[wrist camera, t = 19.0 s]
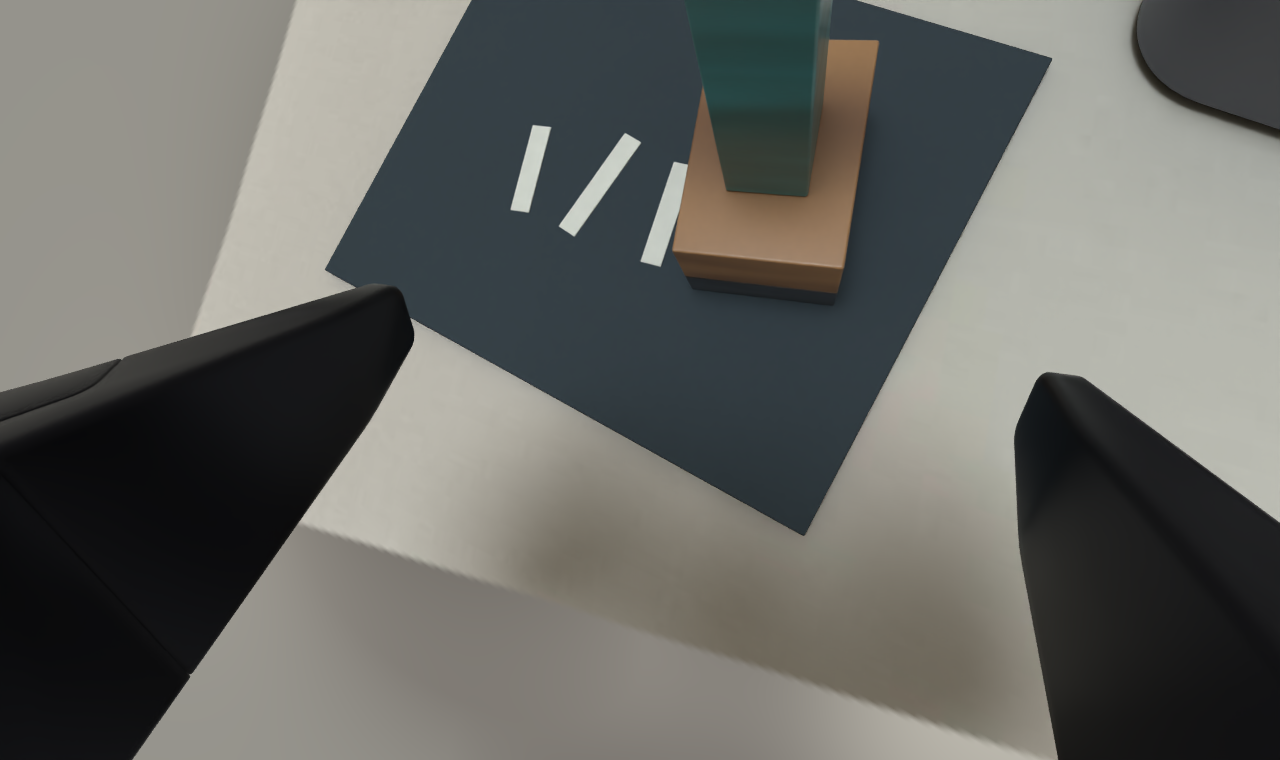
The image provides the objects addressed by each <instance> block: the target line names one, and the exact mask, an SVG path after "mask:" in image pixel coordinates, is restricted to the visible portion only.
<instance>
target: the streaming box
mask: <svg viewBox="0 0 1280 760" xmlns="http://www.w3.org/2000/svg"><path fill="white" fill-rule="evenodd" d="M1137 37H1138V43H1139V47H1140V50H1141V52H1142V55H1143V58H1144V59H1145V61H1146V63H1147V64H1148V66H1149V68H1150V69H1151V70H1152V72H1153V73H1154V74H1155V75H1156V76H1157V77H1158V78H1159V80H1161V81H1162V82H1163V83H1164V84H1165V85H1167V86H1168V87H1169V88H1170V89H1172V90H1174V91H1175V92H1177V93H1179V94H1180V95H1182V96H1184V97H1186V98H1188V99H1191V100H1193V101H1196V102H1198V103H1201V104H1204V105H1207V106H1210V107H1213V108H1216V109H1219V110H1222V111H1225V112H1228V113H1231V114H1234V115H1237V116H1240V117H1243V118H1246V119H1249V120H1252V121H1255V122H1259V123H1262V124H1265V125H1268V126H1271V127H1274V128H1277V129H1280V0H1143V2H1142V4H1141V7H1140V11H1139V15H1138V19H1137Z"/></svg>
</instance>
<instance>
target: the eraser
mask: <svg viewBox="0 0 1280 760" xmlns="http://www.w3.org/2000/svg"><path fill="white" fill-rule="evenodd" d="M832 1H833V0H684V3H685V8H686V12H687V17H688V21H689V26H690V30H691V35H692V39H693V44H694V48H695V53H696V57H697V62H698V66H699V71H700V75H701V80H702V84H703V87H702V92H701V97H700V103H699V108H698V113H697V119H696V124H695V129H694V135H693V140H692V146H691V151H690V156H689V162H688V167H687V172H686V178H685V183H684V188H683V194H682V199H681V204H680V210H679V215H678V220H677V226H676V231H675V237H674V242H673V247H672V252H673V254H674V255H675V257H676V259H677V261H678V263H679V265H680V267H681V269H682V271H683V273H684V275H685V276H686V279H687V280H688V282H689V284H690V286H691V288H692V289H697V290H705V291H714V292H722V293H731V294H739V295H747V296H756V297H764V298H773V299H781V300H789V301H798V302H806V303H815V304H823V305H831V306H832V305H834V304H835V300H836V297H837V293H838V289H839V285H840V281H841V278H842V274H843V270H844V265H845V259H846V253H847V246H848V240H849V233H850V227H851V221H852V214H853V208H854V201H855V195H856V189H857V182H858V176H859V169H860V163H861V157H862V150H863V144H864V137H865V131H866V125H867V118H868V112H869V105H870V99H871V93H872V86H873V80H874V73H875V67H876V61H877V54H878V48H879V41H877V40H829V34H830V23H831V12H832Z"/></svg>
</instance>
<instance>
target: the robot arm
mask: <svg viewBox="0 0 1280 760" xmlns="http://www.w3.org/2000/svg"><path fill="white" fill-rule="evenodd" d="M413 342H414V329H413V326H412V322H411V319H410V316H409V312H408V309H407V306H406V303H405V299H404V296H403V294H402V292H401V291H400V290H399V289H398V288H397V287H395V286H391V285H383V284H376V283H375V284H368V285H365V286H362V287H358V288H355V289H351V290H348V291H345V292H341V293H338V294H335V295H331V296H328V297H325V298H321V299H318V300H315V301H311V302H308V303H304V304H301V305H298V306H294V307H291V308H288V309H284V310H281V311H278V312H274V313H271V314H268V315H264V316H261V317H257V318H254V319H251V320H247V321H244V322H241V323H237V324H234V325H231V326H227V327H224V328H221V329H217V330H214V331H210V332H207V333H204V334H200V335H197V336H194V337H190V338H187V339H184V340H181V341H177V342H174V343H170V344H167V345H164V346H160V347H157V348H153V349H150V350H147V351H143V352H140V353H137V354H133V355H130V356H127V357H125V358H123V360H121V359H116V360H113V361H110V362H106V363H103V364H99V365H96V366H93V367H90V368H86V369H82V370H79V371H76V372H72V373H68V374H65V375H62V376H58V377H55V378H51V379H48V380H44V381H41V382H37V383H33V384H29V385H26V386H22V387H19V388H15V389H11V390H7V391H4V392H0V760H132V759H133V758H134V756H135V755H136V753H137V752H138V751H139V749H140V748H141V746H142V745H143V744H144V742H145V741H146V739H147V738H148V737H149V735H150V734H151V732H152V731H153V729H154V728H155V727H156V725H157V724H158V722H159V721H160V720H161V718H162V717H163V715H164V714H165V712H166V711H167V710H168V708H169V707H170V705H171V704H172V702H173V701H174V699H175V698H176V697H177V695H178V694H179V693H180V691H181V690H182V688H183V687H184V685H185V684H186V682H187V681H188V680H189V678H190V675H189V674H192V673H193V672H194V670H195V669H196V667H197V666H198V664H199V663H200V662H201V660H202V659H203V658H204V656H205V655H206V653H207V652H208V650H209V649H210V647H211V646H212V645H213V643H214V642H215V641H216V639H217V638H218V636H219V635H220V633H221V632H222V631H223V629H224V628H225V626H226V625H227V623H228V622H229V621H230V619H231V618H232V616H233V615H234V613H235V612H236V611H237V609H238V608H239V606H240V605H241V604H242V602H243V601H244V599H245V598H246V596H247V595H248V593H249V592H250V591H251V589H252V588H253V587H254V585H255V584H256V582H257V581H258V579H259V578H260V577H261V575H262V574H263V572H264V571H265V570H266V568H267V567H268V565H269V564H270V562H271V561H272V560H273V558H274V557H275V555H276V554H277V552H278V551H279V549H280V548H281V547H282V545H283V544H284V543H285V541H286V540H287V538H288V537H289V535H290V534H291V533H292V531H293V530H294V528H295V527H296V526H297V524H298V523H299V521H300V520H301V518H302V517H303V516H304V514H305V513H306V511H307V510H308V509H309V507H310V506H311V504H312V503H313V501H314V500H315V499H316V497H317V496H318V494H319V493H320V491H321V490H322V489H323V487H324V486H325V484H326V483H327V482H328V480H329V479H330V477H331V476H332V474H333V473H334V472H335V470H336V469H337V467H338V466H339V465H340V463H341V462H342V460H343V459H344V457H345V456H346V455H347V453H348V452H349V450H350V449H351V448H352V446H353V445H354V443H355V442H356V440H357V439H358V438H359V436H360V435H361V433H362V432H363V430H364V429H365V427H366V426H367V424H368V423H369V421H370V420H371V418H372V417H373V415H374V413H375V412H376V410H377V408H378V406H379V405H380V403H381V401H382V399H383V398H384V396H385V394H386V392H387V390H388V389H389V387H390V385H391V383H392V381H393V380H394V378H395V376H396V374H397V373H398V371H399V369H400V367H401V365H402V364H403V362H404V360H405V358H406V356H407V355H408V353H409V351H410V349H411V347H412V345H413ZM1014 450H1015V473H1016V495H1017V518H1018V536H1019V548H1020V555H1021V561H1022V567H1023V573H1024V578H1025V583H1026V589H1027V594H1028V599H1029V605H1030V610H1031V616H1032V621H1033V626H1034V632H1035V637H1036V642H1037V648H1038V653H1039V658H1040V664H1041V669H1042V675H1043V680H1044V685H1045V691H1046V696H1047V701H1048V707H1049V712H1050V717H1051V723H1052V728H1053V734H1054V739H1055V744H1056V750H1057V755H1058V760H1280V523H1279V522H1278V521H1277V520H1275V519H1274V518H1273V517H1271V516H1270V515H1269V514H1267V513H1266V512H1265V511H1263V510H1262V509H1260V508H1259V507H1258V506H1256V505H1255V504H1254V503H1252V502H1251V501H1250V500H1248V499H1247V498H1246V497H1244V496H1243V495H1242V494H1240V493H1239V492H1237V491H1236V490H1235V489H1233V488H1232V487H1231V486H1229V485H1228V484H1227V483H1225V482H1224V481H1223V480H1221V479H1220V478H1219V477H1217V476H1216V475H1214V474H1213V473H1212V472H1210V471H1209V470H1208V469H1206V468H1205V467H1204V466H1202V465H1201V464H1200V463H1198V462H1197V461H1196V460H1194V459H1193V458H1191V457H1190V456H1189V455H1187V454H1186V453H1185V452H1183V451H1182V450H1181V449H1179V448H1178V447H1177V446H1175V445H1174V444H1173V443H1171V442H1170V441H1168V440H1167V439H1166V438H1164V437H1163V436H1162V435H1160V434H1159V433H1158V432H1156V431H1155V430H1154V429H1152V428H1151V427H1150V426H1148V425H1147V424H1145V423H1144V422H1143V421H1141V420H1140V419H1139V418H1137V417H1136V416H1135V415H1133V414H1132V413H1131V412H1129V411H1128V410H1127V409H1125V408H1124V407H1122V406H1121V405H1120V404H1118V403H1117V402H1116V401H1114V400H1113V399H1112V398H1110V397H1109V396H1108V395H1106V394H1105V393H1104V392H1102V391H1101V390H1100V389H1098V388H1097V387H1095V386H1094V385H1093V384H1091V383H1090V382H1089V381H1087V380H1086V379H1084V378H1083V377H1080V376H1075V375H1067V374H1059V373H1051V372H1046V373H1044V374H1042V375H1040V377H1039V378H1038V379H1037V380H1036V382H1035V384H1034V387H1033V389H1032V391H1031V393H1030V396H1029V398H1028V400H1027V402H1026V405H1025V407H1024V409H1023V411H1022V414H1021V416H1020V418H1019V421H1018V423H1017V426H1016V430H1015V436H1014Z"/></svg>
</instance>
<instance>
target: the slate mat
mask: <svg viewBox="0 0 1280 760" xmlns="http://www.w3.org/2000/svg"><path fill="white" fill-rule="evenodd" d="M829 40H877V41H879V48H878V54H877V61H876V67H875V73H874V80H873V86H872V93H871V99H870V105H869V112H868V118H867V125H866V131H865V137H864V144H863V150H862V157H861V163H860V169H859V176H858V182H857V189H856V195H855V201H854V208H853V214H852V221H851V227H850V233H849V240H848V246H847V253H846V259H845V265H844V270H843V274H842V278H841V281H840V285H839V289H838V293H837V297H836V300H835V304H834V305H832V306H831V305H823V304H815V303H806V302H798V301H789V300H781V299H773V298H764V297H756V296H747V295H739V294H731V293H722V292H714V291H705V290H697V289H692V288H691V286H690V284H689V282H688V280H687V279H686V276H685V275H684V273H683V271H682V269H681V267H680V265H679V263H678V261H677V259H676V257H675V255H674V254H673V252H672V247H673V242H674V237H675V231H676V226H677V220H678V215H679V210H680V204H681V199H682V194H683V188H684V183H685V178H686V172H687V167H688V162H689V156H690V151H691V146H692V140H693V135H694V129H695V124H696V119H697V113H698V108H699V103H700V97H701V92H702V87H703V84H702V80H701V75H700V71H699V66H698V62H697V57H696V53H695V48H694V44H693V39H692V35H691V30H690V26H689V21H688V17H687V12H686V8H685V3H684V0H472V1H471V2H470V4H469V6H468V8H467V10H466V12H465V13H464V15H463V17H462V19H461V21H460V23H459V24H458V26H457V28H456V30H455V32H454V34H453V35H452V37H451V39H450V41H449V43H448V45H447V46H446V48H445V50H444V52H443V54H442V56H441V58H440V59H439V61H438V63H437V65H436V67H435V69H434V70H433V72H432V74H431V76H430V78H429V80H428V81H427V83H426V85H425V87H424V89H423V91H422V92H421V94H420V96H419V98H418V100H417V102H416V103H415V105H414V107H413V109H412V111H411V113H410V114H409V116H408V118H407V120H406V122H405V124H404V125H403V127H402V129H401V131H400V133H399V135H398V136H397V138H396V140H395V142H394V144H393V146H392V147H391V149H390V151H389V153H388V155H387V157H386V158H385V160H384V162H383V164H382V166H381V168H380V169H379V171H378V173H377V175H376V177H375V179H374V180H373V182H372V184H371V186H370V188H369V190H368V191H367V193H366V195H365V197H364V199H363V201H362V202H361V204H360V206H359V208H358V210H357V212H356V213H355V215H354V217H353V219H352V221H351V223H350V224H349V226H348V228H347V230H346V232H345V234H344V235H343V237H342V239H341V241H340V243H339V245H338V246H337V248H336V250H335V252H334V254H333V256H332V257H331V259H330V261H329V263H328V265H327V267H326V268H325V270H326V271H328V272H329V273H331V274H333V275H335V276H337V277H338V278H340V279H342V280H344V281H346V282H347V283H349V284H351V285H353V286H355V287H356V288H358V287H362V286H365V285H368V284H375V283H376V284H383V285H391V286H395V287H397V288H398V289H399V290H400V291H401V292H402V294H403V296H404V299H405V303H406V306H407V309H408V312H409V316H410V318H412V319H414V320H416V321H418V322H419V323H421V324H423V325H425V326H427V327H428V328H430V329H432V330H434V331H436V332H437V333H439V334H441V335H443V336H445V337H446V338H448V339H450V340H452V341H454V342H455V343H457V344H459V345H461V346H463V347H464V348H466V349H468V350H470V351H472V352H473V353H475V354H477V355H479V356H480V357H482V358H484V359H486V360H488V361H489V362H491V363H493V364H495V365H497V366H498V367H500V368H502V369H504V370H506V371H507V372H509V373H511V374H513V375H515V376H516V377H518V378H520V379H522V380H524V381H525V382H527V383H529V384H531V385H533V386H534V387H536V388H538V389H540V390H542V391H543V392H545V393H547V394H549V395H551V396H552V397H554V398H556V399H558V400H560V401H561V402H563V403H565V404H567V405H569V406H570V407H572V408H574V409H576V410H578V411H579V412H581V413H583V414H585V415H587V416H588V417H590V418H592V419H594V420H596V421H597V422H599V423H601V424H603V425H605V426H606V427H608V428H610V429H612V430H614V431H615V432H617V433H619V434H621V435H623V436H624V437H626V438H628V439H630V440H632V441H633V442H635V443H637V444H639V445H641V446H642V447H644V448H646V449H648V450H650V451H651V452H653V453H655V454H657V455H659V456H660V457H662V458H664V459H666V460H668V461H669V462H671V463H673V464H675V465H677V466H678V467H680V468H682V469H684V470H686V471H687V472H689V473H691V474H693V475H695V476H696V477H698V478H700V479H702V480H704V481H705V482H707V483H709V484H711V485H713V486H714V487H716V488H718V489H720V490H722V491H723V492H725V493H727V494H729V495H731V496H732V497H734V498H736V499H738V500H740V501H741V502H743V503H745V504H747V505H749V506H750V507H752V508H754V509H756V510H758V511H759V512H761V513H763V514H765V515H767V516H768V517H770V518H772V519H774V520H776V521H777V522H779V523H781V524H783V525H785V526H786V527H788V528H790V529H792V530H794V531H795V532H797V533H799V534H801V535H803V536H804V535H805V533H806V532H807V530H808V528H809V526H810V524H811V522H812V520H813V518H814V516H815V514H816V512H817V510H818V508H819V507H820V505H821V503H822V501H823V499H824V497H825V495H826V493H827V491H828V489H829V487H830V485H831V483H832V482H833V480H834V478H835V476H836V474H837V472H838V470H839V468H840V466H841V464H842V462H843V460H844V459H845V457H846V455H847V453H848V451H849V449H850V447H851V445H852V443H853V441H854V439H855V437H856V435H857V434H858V432H859V430H860V428H861V426H862V424H863V422H864V420H865V418H866V416H867V414H868V412H869V410H870V409H871V407H872V405H873V403H874V401H875V399H876V397H877V395H878V393H879V391H880V389H881V387H882V386H883V384H884V382H885V380H886V378H887V376H888V374H889V372H890V370H891V368H892V366H893V364H894V362H895V361H896V359H897V357H898V355H899V353H900V351H901V349H902V347H903V345H904V343H905V341H906V339H907V337H908V336H909V334H910V332H911V330H912V328H913V326H914V324H915V322H916V320H917V318H918V316H919V314H920V313H921V311H922V309H923V307H924V305H925V303H926V301H927V299H928V297H929V295H930V293H931V291H932V289H933V288H934V286H935V284H936V282H937V280H938V278H939V276H940V274H941V272H942V270H943V268H944V266H945V265H946V263H947V261H948V259H949V257H950V255H951V253H952V251H953V249H954V247H955V245H956V243H957V241H958V240H959V238H960V236H961V234H962V232H963V230H964V228H965V226H966V224H967V222H968V220H969V218H970V216H971V215H972V213H973V211H974V209H975V207H976V205H977V203H978V201H979V199H980V197H981V195H982V193H983V192H984V190H985V188H986V186H987V184H988V182H989V180H990V178H991V176H992V174H993V172H994V170H995V168H996V167H997V165H998V163H999V161H1000V159H1001V157H1002V155H1003V153H1004V151H1005V149H1006V147H1007V145H1008V143H1009V142H1010V140H1011V138H1012V136H1013V134H1014V132H1015V130H1016V128H1017V126H1018V124H1019V122H1020V120H1021V119H1022V117H1023V115H1024V113H1025V111H1026V109H1027V107H1028V105H1029V103H1030V101H1031V99H1032V97H1033V95H1034V94H1035V92H1036V90H1037V88H1038V86H1039V84H1040V82H1041V80H1042V78H1043V76H1044V74H1045V72H1046V70H1047V69H1048V67H1049V65H1050V63H1051V61H1052V58H1049V57H1046V56H1043V55H1039V54H1036V53H1033V52H1029V51H1026V50H1022V49H1019V48H1016V47H1012V46H1009V45H1006V44H1002V43H999V42H995V41H992V40H989V39H985V38H982V37H978V36H975V35H972V34H968V33H965V32H962V31H958V30H955V29H951V28H948V27H945V26H941V25H938V24H935V23H931V22H928V21H924V20H921V19H918V18H914V17H911V16H907V15H904V14H901V13H897V12H894V11H891V10H887V9H884V8H880V7H877V6H874V5H870V4H867V3H864V2H860V1H857V0H833V1H832V12H831V23H830V34H829Z"/></svg>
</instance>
